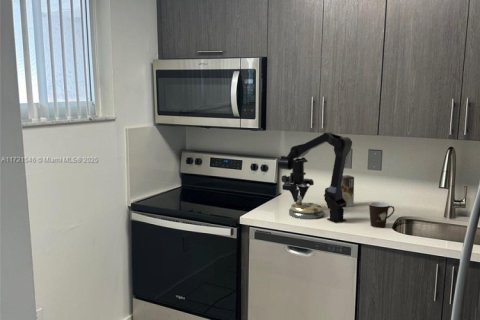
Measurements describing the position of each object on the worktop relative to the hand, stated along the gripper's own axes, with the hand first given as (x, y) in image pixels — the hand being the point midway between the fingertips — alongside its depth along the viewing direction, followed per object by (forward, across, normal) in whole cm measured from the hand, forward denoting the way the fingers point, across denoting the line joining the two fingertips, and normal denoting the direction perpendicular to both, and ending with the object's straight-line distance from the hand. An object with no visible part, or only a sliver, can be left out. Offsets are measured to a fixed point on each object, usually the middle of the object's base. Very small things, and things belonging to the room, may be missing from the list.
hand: (298, 201), depth 221 cm
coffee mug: (+7, -7, +41) cm, 42 cm away
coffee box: (+7, -28, +9) cm, 30 cm away
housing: (+6, +1, +5) cm, 8 cm away
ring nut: (+3, +1, +5) cm, 6 cm away
